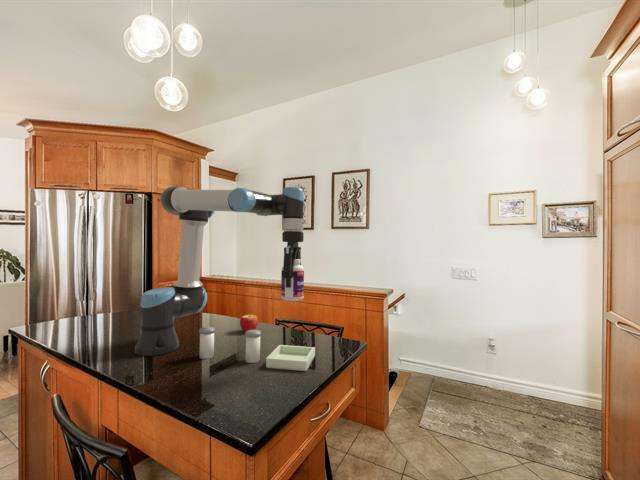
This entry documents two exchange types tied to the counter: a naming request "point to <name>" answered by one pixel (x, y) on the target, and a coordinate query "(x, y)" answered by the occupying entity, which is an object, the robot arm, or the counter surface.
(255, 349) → the canister
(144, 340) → the robot arm
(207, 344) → the canister
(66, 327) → the counter surface
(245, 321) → the apple
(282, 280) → the pill bottle
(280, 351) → the tray
